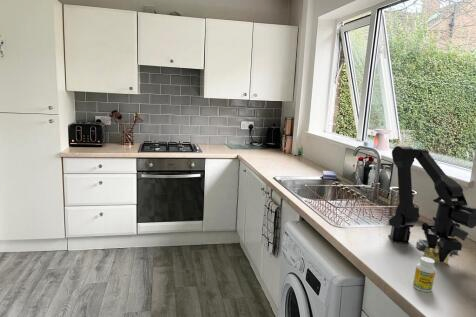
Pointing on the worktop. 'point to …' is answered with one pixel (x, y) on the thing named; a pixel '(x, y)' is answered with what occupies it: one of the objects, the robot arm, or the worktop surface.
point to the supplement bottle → (424, 274)
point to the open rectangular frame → (423, 245)
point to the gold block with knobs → (434, 255)
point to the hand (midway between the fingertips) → (436, 257)
